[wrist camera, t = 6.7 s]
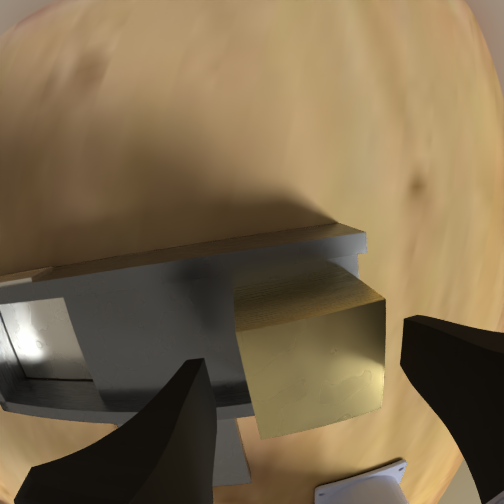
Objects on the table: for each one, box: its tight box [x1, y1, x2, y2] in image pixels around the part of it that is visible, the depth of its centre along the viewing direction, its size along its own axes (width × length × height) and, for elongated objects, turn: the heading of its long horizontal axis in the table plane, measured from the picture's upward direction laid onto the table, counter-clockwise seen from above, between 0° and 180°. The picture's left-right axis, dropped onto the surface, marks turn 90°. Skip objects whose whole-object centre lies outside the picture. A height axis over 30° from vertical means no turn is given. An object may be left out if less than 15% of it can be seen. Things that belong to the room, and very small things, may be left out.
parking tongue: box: [117, 418, 251, 486], centre depth 16 cm, size 7×7×1 cm
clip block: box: [233, 266, 386, 440], centre depth 11 cm, size 4×4×4 cm
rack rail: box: [0, 223, 367, 424], centre depth 13 cm, size 8×21×3 cm, turn 98°
